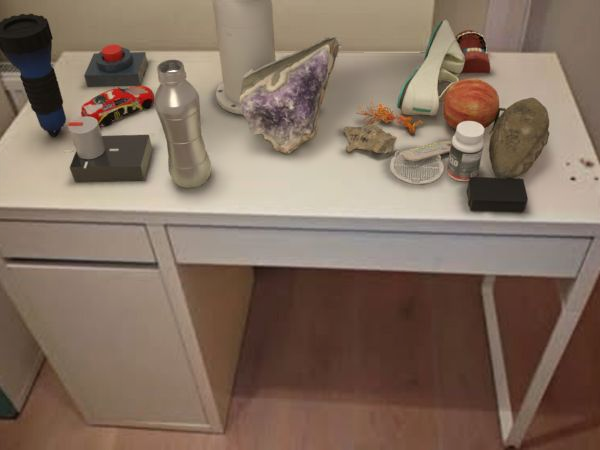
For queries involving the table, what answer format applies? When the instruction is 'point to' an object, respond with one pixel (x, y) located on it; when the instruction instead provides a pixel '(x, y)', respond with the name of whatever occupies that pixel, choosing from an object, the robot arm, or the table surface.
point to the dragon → (389, 117)
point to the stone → (518, 138)
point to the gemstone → (289, 95)
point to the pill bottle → (466, 151)
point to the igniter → (116, 70)
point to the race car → (118, 104)
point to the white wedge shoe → (432, 73)
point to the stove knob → (87, 137)
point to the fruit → (471, 103)
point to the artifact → (369, 138)
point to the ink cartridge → (496, 194)
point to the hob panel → (115, 160)
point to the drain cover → (417, 164)
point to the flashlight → (34, 66)
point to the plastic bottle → (181, 125)
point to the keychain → (427, 151)
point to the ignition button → (112, 53)
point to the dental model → (474, 52)
